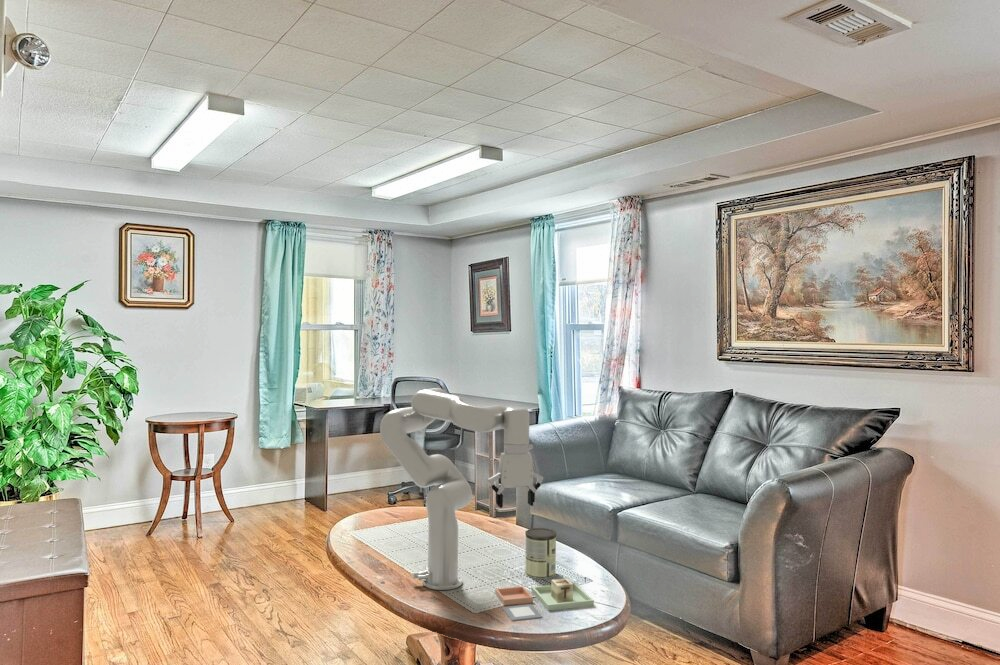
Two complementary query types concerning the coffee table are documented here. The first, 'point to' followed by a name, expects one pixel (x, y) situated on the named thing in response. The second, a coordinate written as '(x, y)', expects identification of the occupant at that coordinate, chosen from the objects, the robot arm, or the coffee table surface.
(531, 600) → the terracotta dish
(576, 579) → the coffee table surface
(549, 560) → the coffee can
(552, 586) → the letter cube
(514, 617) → the grey framed white tile
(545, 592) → the green tray
